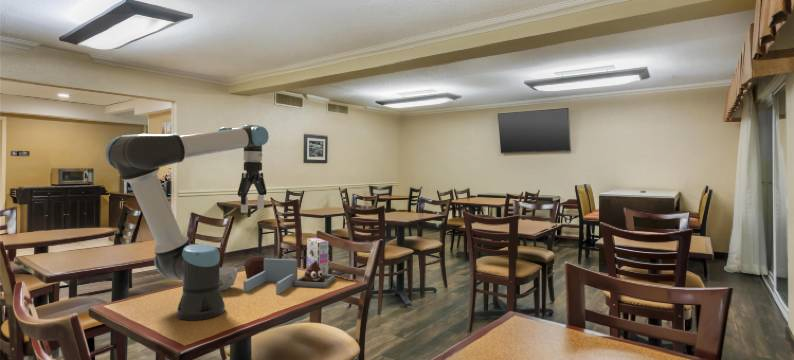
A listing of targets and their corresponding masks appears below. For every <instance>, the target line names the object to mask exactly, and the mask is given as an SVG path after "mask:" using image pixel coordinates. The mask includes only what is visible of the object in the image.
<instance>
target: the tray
mask: <svg viewBox="0 0 794 360" xmlns="http://www.w3.org/2000/svg"><path fill="white" fill-rule="evenodd" d="M304 276H305V274H304V275H302V276H300V277H299V278H297V280H296V281H294V285H293V287H300V288H317V289H318V288H319V289H326V288H327V287H328V286H329V285H331V284H332V283H333V282H334V281H336V275H335V274H329V275H324V276H325V280H324V281H323V282H303V277H304Z"/></svg>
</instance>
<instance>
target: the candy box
mask: <svg viewBox="0 0 794 360" xmlns="http://www.w3.org/2000/svg"><path fill="white" fill-rule="evenodd" d="M329 243H330V241H328V240H325V239H322V238H318V237H313V238H312V237H311V238H306V270H307V269H308V268H309V266H310V265H311V264H312V263H313V262H314V261H317V264H318V266H319V267H320V269H321V271H322V272H323V275H330V274H329V269H330V267H329V264H330V263H329V261H330V260H329V259H330V258H329V256H330V255H329V253H330V244H329Z"/></svg>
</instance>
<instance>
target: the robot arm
mask: <svg viewBox="0 0 794 360" xmlns="http://www.w3.org/2000/svg"><path fill="white" fill-rule="evenodd" d="M269 136H270V135H269V131H268V130H267V128H265V127H264V126H262V125H258V124H245V125H244V126H243V127H229V126H228V127H227V126H226V127H225V126H224V127H223V126H222V127H220V128H219V129H218V130H216V131H215V130H214V131H208V132H201V133H194V134H187V135H179V134H177V133H169V134H168V133H167V134H158V133H157V134H155V133H154V134H153V133H152V134H151V133H149V134H148V133H140V134H126V135H124V134H123V135H120V136H118V137H114V138H113V139H111V141H110V142H109V143H108V145H107V147H106V149H105V159H106V161H107V163H108V164H109V165H110V166H111V167H112V168H113V169H115V170H117V171H118V174H119V176H120V179H121V180H122V181H123V182H126V183H128V184H129V185H130V188H131V189H132V192H133V194H134V196H135V199H136V201H137V203H138V205H139V207H140V210H141V213H142V215H143V217H144V219H145V221H146V223H147V226H148V228H149V230H150V233H151V235H152V237H153V239H154V241H155V246H154V249H153V251H154V254H155V256H154V258H153V259H154V260H153V263H154V266H155V269H156V270H157V271H158V272H159V274H162V275H164V276H166V277H167V278H172V279H177V280H181V281H182V294H181V297H180V300H179V303H178V306H177V309H176V313H177V314H176V317H177V318H178V319H180V320H183V321H201V320H207V319H211V318H215V317H218V316H220V315H222V314H223V313H224V312H225V310H226V307H225V301H224V298H223V295H222V293H221V291H220V289H219V268H220V261H221V257H220V251H219V249H218V248H217V246H214V245H211V244H204V243H199V244H198V243H196V244H192V243H191V241H190V238H189V236H187V235H185V234H182V231H181V230H180V226H179V224H178V221H177V220H176V217H175V215H174V213H173V210H172V207H171V205H170V202H169V200H168V198H167V196H166V193H165V191H164V188H163V186H162V183H161V181H160V179H159V177H158V172H159V171H160V168H162V167H166V166H169V165H173V164H177V163H178V164H179V163H183V161H184V160H185V159H189V158H192V157H194V158H195V157H198V156H204V155H205V156H206V155H210V154H211V155H212V154H215V153H220V152H221V153H222V152H228V151H232V150H238V149H242V148H243V161H244V162H243V170H244V171H245V172H242V173H241V180H240V183H239V187H238V190H237V196H238V197H239V198H240V213H248V212H249V196H248V194H249V191H250V189H251V187H252V185H254V186H255V189H256V192H257V193H258V194H257V196H256V197H257V198H256V199H257V201H256V203H257V206H256V209H257V210H260V211H263V210H264V209H265V207H264V206H265V205H264V204H265V196H266V195H267V193H268V192H267V186H266V182H265V179H264V172H262V171H263V162H262V161H263V145H266V144H267V143H268V141H269V138H270V137H269ZM260 171H261V172H260Z"/></svg>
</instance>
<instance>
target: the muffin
mask: <svg viewBox="0 0 794 360" xmlns="http://www.w3.org/2000/svg"><path fill="white" fill-rule="evenodd" d="M265 258H266V257H265V256H263V255H257V254H256V255H251V256H249V257H248V258H247V259H246V260H245V262H244V263H243V266H244V270H245V271H244V272H245V275H246V280H247V279H249V278H251V277H253V276H255V275H257V274H259V273H261V272H263V271H264V259H265Z"/></svg>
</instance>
